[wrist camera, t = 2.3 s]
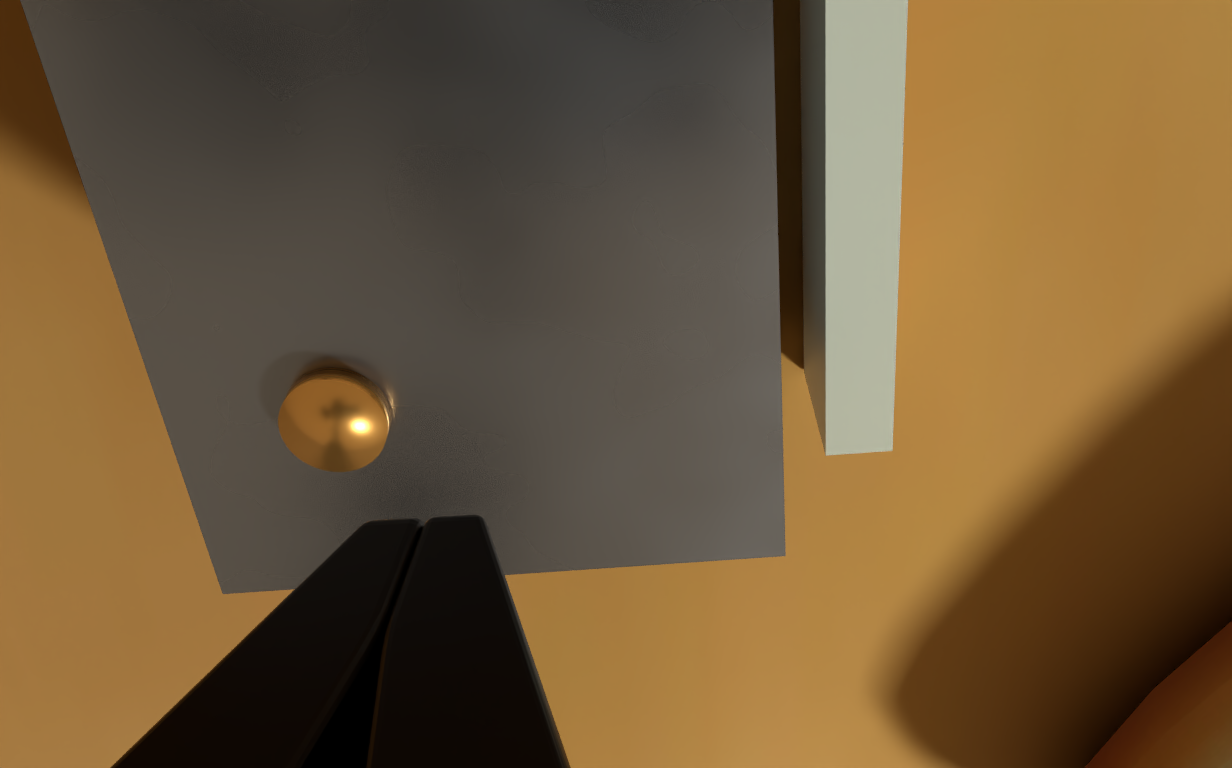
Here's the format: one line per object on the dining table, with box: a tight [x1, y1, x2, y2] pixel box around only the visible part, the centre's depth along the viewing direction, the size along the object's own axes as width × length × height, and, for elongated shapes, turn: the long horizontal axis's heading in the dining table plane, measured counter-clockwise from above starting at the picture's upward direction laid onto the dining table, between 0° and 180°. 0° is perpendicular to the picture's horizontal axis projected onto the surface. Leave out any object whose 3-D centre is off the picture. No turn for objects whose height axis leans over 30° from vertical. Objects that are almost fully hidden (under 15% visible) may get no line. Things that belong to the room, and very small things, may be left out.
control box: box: [20, 0, 785, 594], centre depth 15 cm, size 8×9×6 cm
